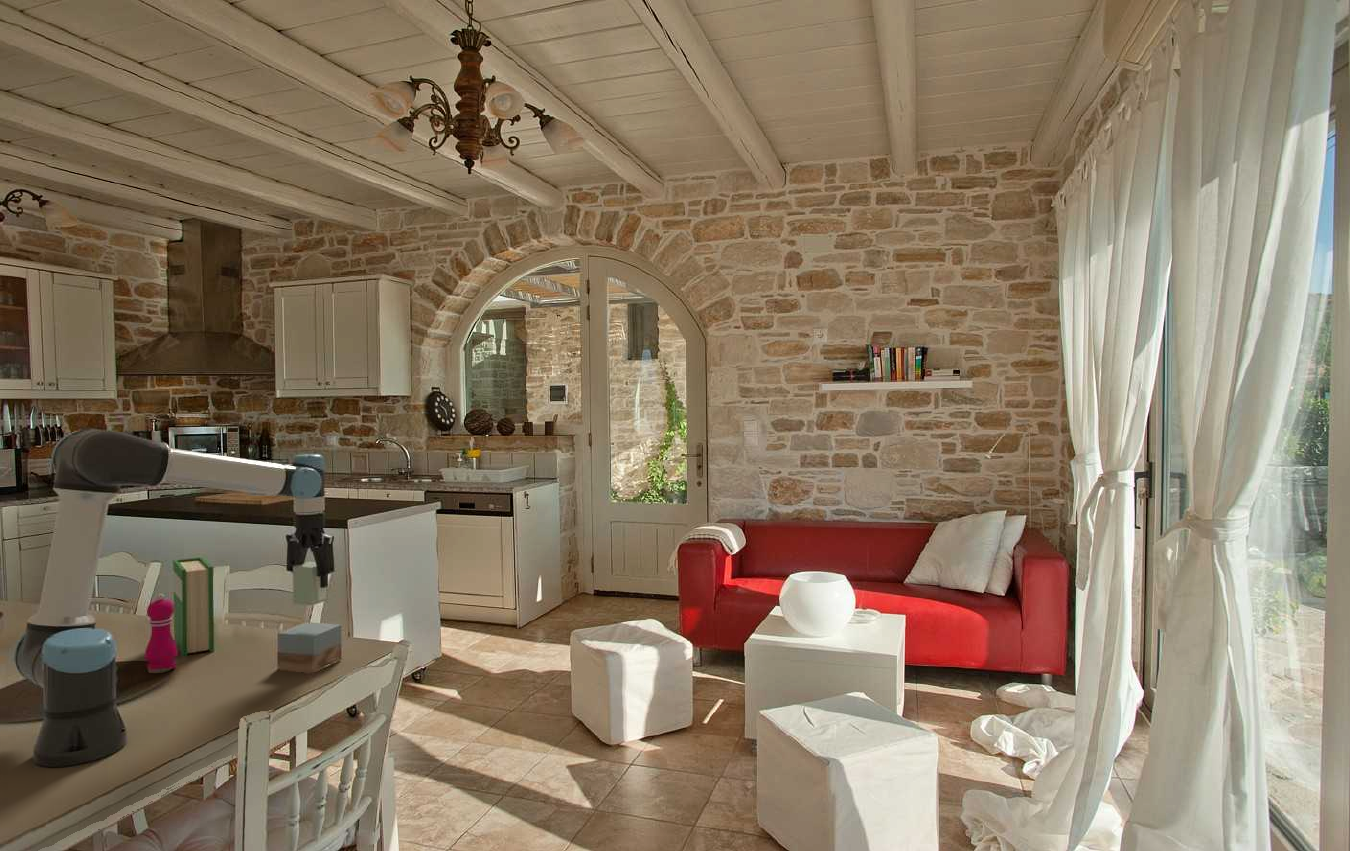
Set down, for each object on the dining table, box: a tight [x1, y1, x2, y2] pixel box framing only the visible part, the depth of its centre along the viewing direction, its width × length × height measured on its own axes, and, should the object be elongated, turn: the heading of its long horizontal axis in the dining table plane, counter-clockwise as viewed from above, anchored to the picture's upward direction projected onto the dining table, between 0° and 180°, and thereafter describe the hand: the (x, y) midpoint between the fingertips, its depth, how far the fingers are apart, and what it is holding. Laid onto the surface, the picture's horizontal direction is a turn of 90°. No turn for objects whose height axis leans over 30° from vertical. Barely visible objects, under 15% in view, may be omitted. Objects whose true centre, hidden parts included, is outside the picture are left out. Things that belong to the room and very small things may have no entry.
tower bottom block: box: [276, 642, 342, 674], centre depth 213 cm, size 11×11×5 cm
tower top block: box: [277, 621, 342, 655], centre depth 213 cm, size 11×11×5 cm
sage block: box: [292, 561, 329, 606], centre depth 213 cm, size 6×6×10 cm
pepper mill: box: [144, 593, 179, 669], centre depth 208 cm, size 7×7×20 cm
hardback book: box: [172, 556, 215, 658], centre depth 228 cm, size 18×7×24 cm, turn 39°
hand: (310, 598), depth 213 cm, fingers closed on sage block, 6 cm apart
